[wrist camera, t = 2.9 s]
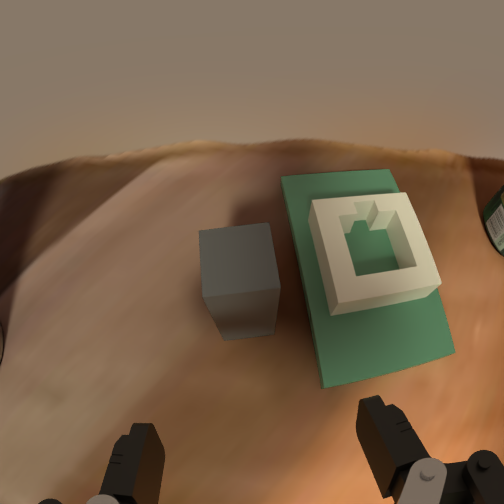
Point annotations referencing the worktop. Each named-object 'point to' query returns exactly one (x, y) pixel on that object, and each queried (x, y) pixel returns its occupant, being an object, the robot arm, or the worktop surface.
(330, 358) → the header board
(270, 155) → the worktop surface
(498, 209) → the coffee jar
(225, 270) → the plug
